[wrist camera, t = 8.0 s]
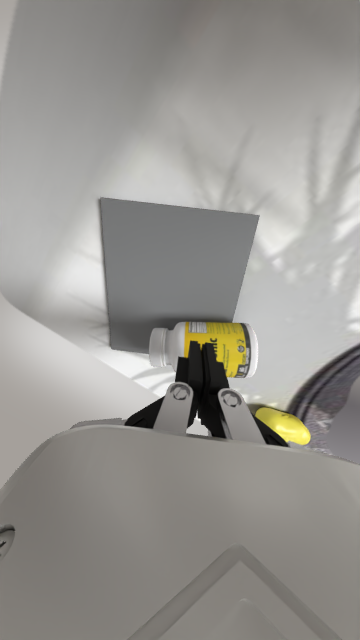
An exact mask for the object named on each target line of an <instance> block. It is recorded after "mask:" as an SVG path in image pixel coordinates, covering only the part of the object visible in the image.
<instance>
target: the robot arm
mask: <svg viewBox="0 0 360 640" xmlns="http://www.w3.org/2000/svg"><path fill="white" fill-rule="evenodd" d="M197 411H198V418H200V419H201V425H205V426H206V428H207V429H208V436H202V435H194V434H187V433H186V430H187V428H188V427H190V426H191V425H192V424H193V422H194V418H196V413H197ZM14 531H15V532H14ZM4 541H6V542H4ZM0 640H360V464H358V463H355V462H352V461H350V460H347V459H344V458H340V457H337V456H333V455H329V454H326V453H323V452H320V451H317V450H315V449H312V448H309V447H306V446H303V445H300V444H297V443H295V442H292V441H288V442H286V441H285V440H284V439H283V438H282V437H281V436H280V435H279V434H277V433H276V432H275V431H273V430H272V429H271V428H270V427H268V426H267V425H266V424H265V423H263V422H262V421H261V420H260V419H258V418H257V417H256V416H254V415H253V414H252V413H251V412H250V411H249V409H248V407H247V405H246V403H245V401H244V399H243V397H242V396H241V395H240V394H239V393H238V392H237V391H235V390H233V389H230V388H229V384H228V380H227V376H226V372H225V368H224V364H223V362H218V361H217V360H216V355H215V350H214V345H213V343H208V342H205V344H202V347H201V346H200V343H198V341H192V340H190V345H189V351H188V358H187V357H179V356H178V362H177V370H176V378H175V383H173V384H171V385H170V386H169V387H168V389H167V392H166V395H165V396H163V397H162V398H160V399H158V400H157V401H155V402H154V403H152V404H150V405H148V406H147V407H145V408H144V409H142V410H140V411H138V412H137V413H135V414H133V415H132V416H131V417H129V418H128V419H127V420H122V418H114V419H103V420H92V421H84V422H79V423H77V424H75V425H73V426H72V427H71V428H70V429H69V430H66V431H63V432H61V433H59V434H56V435H54V436H52V437H51V438H49V439H47V440H46V441H45V442H44V443H42V444H41V445H40V446H39V447H38V448H37V449H36V450H34V452H32V453H31V455H29V457H28V458H27V459H26V460H25V461H24V462H23V463H22V464H21V466H20V467H19V468H18V469H17V470H16V471H15V472H14V474H13V475H12V476H11V477H10V478H9V480H8V481H7V482H6V483H5V485H4V486H3V487H2V488H1V489H0Z"/></svg>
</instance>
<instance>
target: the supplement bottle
mask: <svg viewBox="0 0 360 640" xmlns="http://www.w3.org/2000/svg"><path fill="white" fill-rule="evenodd" d="M190 340H192V341H198V343H200V346H201V347H202V344H205V342H208V343H213V345H214V350H215V355H216V360H217V361H218V362H223V364H224V368H225V372H226V376H227V377H235V378H249V377H251V376H253V374H254V373H255V370H256V367H257V361H258V342H257V337H256V334H255V331H254V329H253V328H252V327H251V326H250V325H249V324H246V323H216V322H180V323H178V324H177V325H176V326H175V328H174V330H168V328H166V329H165V328H154V329H153V330H152V333H151V337H150V344H149V359H150V363H151V366H153V367H166V366H167V365H172V367H173V369H174V371H175V372H176V370H177V362H178V356H179V357H187V358H188V351H189V345H190Z"/></svg>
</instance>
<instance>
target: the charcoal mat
mask: <svg viewBox="0 0 360 640" xmlns="http://www.w3.org/2000/svg"><path fill="white" fill-rule="evenodd" d="M100 199H101V213H102V227H103V240H104V254H105V268H106V281H107V295H108V309H109V322H110V336H111V349H113V350H121V351H129V352H137V353H145V354H149V344H150V337H151V333H152V330H153V329H154V328H165V329H166V328H168V330H174V328H175V326H176V325H177V324H178V323H180V322H216V323H232V321H233V317H234V313H235V309H236V305H237V301H238V297H239V294H240V290H241V286H242V282H243V278H244V274H245V270H246V266H247V263H248V259H249V255H250V251H251V247H252V243H253V239H254V235H255V232H256V228H257V224H258V220H259V216H260V215H252V214H243V213H234V212H225V211H216V210H208V209H199V208H190V207H181V206H172V205H163V204H154V203H146V202H137V201H128V200H119V199H110V198H101V197H100Z"/></svg>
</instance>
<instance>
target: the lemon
mask: <svg viewBox="0 0 360 640" xmlns="http://www.w3.org/2000/svg"><path fill="white" fill-rule="evenodd" d="M255 416H256V417H257V418H258V419H260V420H261V421H262V422H263V423H265V424H266V425H267V426H268V427H270V428H271V429H272V430H273V431H275V432H276V433H277V434H279V435H280V436H281V437H282V438H283V439H284V440H285V441H286V442H288V441H292V442H295V443H297V444H300V445H304V444H307V443H308V442H309V441H310V433H309V431H308V429H307V428H306V427H305V426H304V425H303V423H302V422H301V421H300V420H299V419H298V418H297V417H295V416H294V415H291V414H287V413H284V412H281V411H277V410H274V409H271V408H265V407H264V408H259V409H258V410H257V411H256V414H255Z"/></svg>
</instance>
